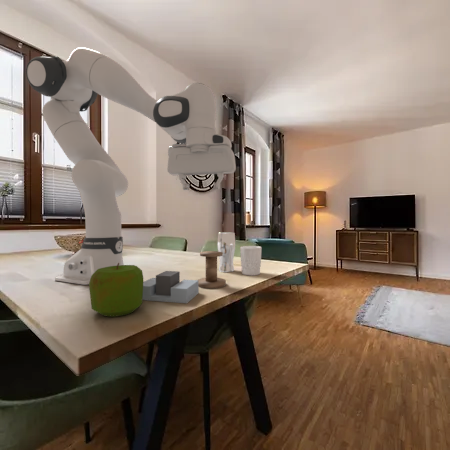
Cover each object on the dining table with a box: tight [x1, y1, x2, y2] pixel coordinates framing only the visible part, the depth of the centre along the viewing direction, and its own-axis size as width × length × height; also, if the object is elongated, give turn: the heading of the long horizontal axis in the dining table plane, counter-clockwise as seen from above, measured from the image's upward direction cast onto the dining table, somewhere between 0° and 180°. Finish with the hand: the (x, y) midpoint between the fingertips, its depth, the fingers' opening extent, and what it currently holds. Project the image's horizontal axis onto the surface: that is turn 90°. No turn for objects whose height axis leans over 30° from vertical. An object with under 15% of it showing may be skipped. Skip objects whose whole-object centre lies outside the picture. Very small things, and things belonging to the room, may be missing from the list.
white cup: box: [239, 245, 262, 276], centre depth 98 cm, size 8×8×10 cm
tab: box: [155, 270, 181, 296], centre depth 69 cm, size 4×6×5 cm, turn 167°
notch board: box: [142, 277, 200, 304], centre depth 69 cm, size 14×9×4 cm, turn 77°
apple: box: [88, 263, 144, 318], centre depth 58 cm, size 11×11×11 cm
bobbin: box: [197, 250, 227, 290], centre depth 81 cm, size 9×9×10 cm
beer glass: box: [217, 231, 236, 273], centre depth 103 cm, size 7×7×15 cm
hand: (201, 189), depth 77 cm, fingers open, 8 cm apart
